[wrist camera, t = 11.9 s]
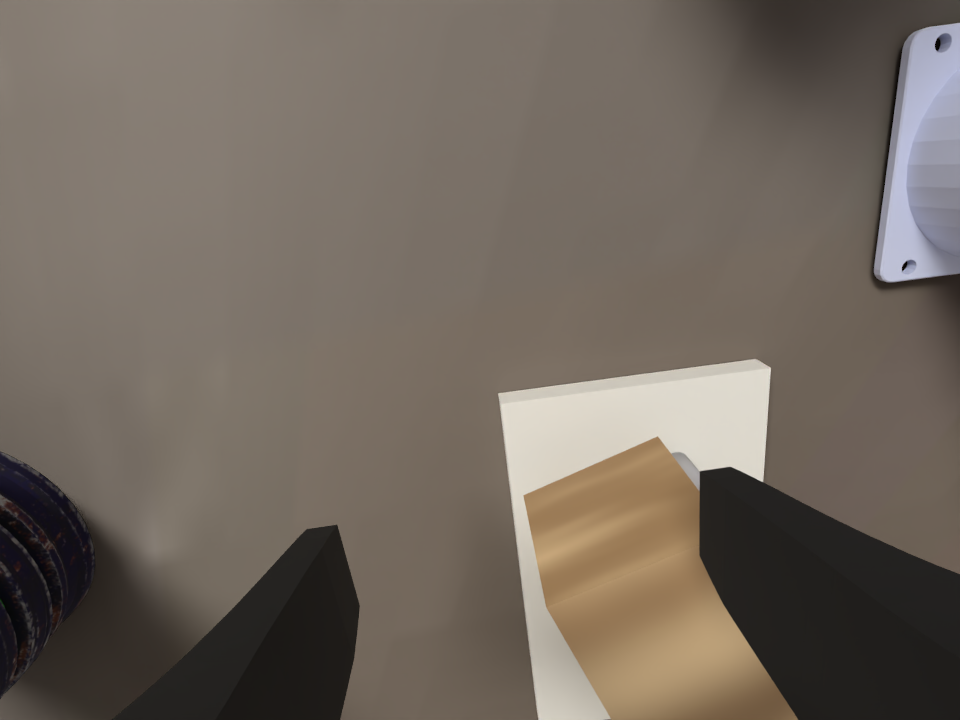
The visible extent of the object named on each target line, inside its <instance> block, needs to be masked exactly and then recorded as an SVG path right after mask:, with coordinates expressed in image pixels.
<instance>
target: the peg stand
mask: <svg viewBox="0 0 960 720" xmlns="http://www.w3.org/2000/svg"><path fill="white" fill-rule="evenodd" d="M770 373H771V368H770V367H768V366H767V365H765V364H763V363H762V362H760V361H759V360H757V359H752V360H745V361H737V362H730V363H722V364H715V365H707V366H700V367H692V368H685V369H677V370H670V371H662V372H655V373H647V374H640V375H632V376H625V377H617V378H610V379H602V380H595V381H587V382H580V383H572V384H565V385H557V386H550V387H542V388H535V389H527V390H520V391H512V392H505V393H498V396H499V404H500V412H501V420H502V429H503V437H504V445H505V453H506V461H507V470H508V478H509V486H510V494H511V502H512V511H513V519H514V527H515V535H516V543H517V552H518V560H519V568H520V576H521V584H522V593H523V601H524V609H525V617H526V625H527V634H528V642H529V650H530V658H531V666H532V675H533V683H534V691H535V699H536V707H537V714H538V720H605V719H611V718H610V716H609V715H608V713H607V711H606V709H605V708H604V706H603V704H602V703H601V701H600V699H599V697H598V696H597V694H596V692H595V691H594V689H593V687H592V685H591V684H590V682H589V680H588V678H587V677H586V675H585V673H584V672H583V670H582V668H581V666H580V665H579V663H578V661H577V660H576V658H575V656H574V654H573V653H572V651H571V649H570V648H569V646H568V644H567V642H566V641H565V639H564V637H563V635H562V634H561V632H560V630H559V629H558V627H557V625H556V623H555V622H554V620H553V618H552V617H551V615H550V613H549V611H548V610H547V608H546V604H545V599H544V594H543V589H542V584H541V580H540V575H539V570H538V565H537V560H536V555H535V550H534V545H533V540H532V536H531V531H530V526H529V521H528V516H527V511H526V506H525V501H524V496H523V495H525V494H528V493H530V492H532V491H535V490H537V489H539V488H541V487H544V486H546V485H548V484H551V483H553V482H555V481H557V480H560V479H562V478H564V477H566V476H569V475H571V474H573V473H576V472H578V471H580V470H582V469H585V468H587V467H589V466H591V465H594V464H596V463H598V462H601V461H603V460H605V459H607V458H610V457H612V456H614V455H617V454H619V453H621V452H623V451H626V450H628V449H630V448H632V447H635V446H637V445H639V444H642V443H644V442H646V441H648V440H651V439H653V438H655V437H657V436H658V437H659V438H660V440H661V441H662V442H663V444H664V445H665V446H666V448H667V449H668V450H669V452H670V453H671V454H672V456H673V457H674V458H675V460H676V461H677V462H678V464H679V465H680V466H681V468H682V469H683V470H684V471H685V473H686V474H687V475H688V477H689V478H690V479H691V481H692V482H693V483H694V485H695V486H696V487H697V489H698V490H699V491H700V471H704V470H711V469H718V468H725V467H732V468H735V469H737V470H739V471H741V472H743V473H745V474H747V475H749V476H751V477H753V478H755V479H757V480H759V481H761V482H763V476H764V461H765V446H766V432H767V417H768V402H769V387H770Z"/></svg>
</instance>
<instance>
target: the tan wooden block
mask: <svg viewBox="0 0 960 720" xmlns="http://www.w3.org/2000/svg"><path fill="white" fill-rule="evenodd" d="M523 496H524V501H525V506H526V511H527V516H528V521H529V526H530V531H531V536H532V540H533V545H534V550H535V555H536V560H537V565H538V570H539V575H540V580H541V584H542V589H543V594H544V599H545V604H546V608H547V610H548V611H549V613H550V615H551V617H552V618H553V620H554V622H555V623H556V625H557V627H558V629H559V630H560V632H561V634H562V635H563V637H564V639H565V641H566V642H567V644H568V646H569V648H570V649H571V651H572V653H573V654H574V656H575V658H576V660H577V661H578V663H579V665H580V666H581V668H582V670H583V672H584V673H585V675H586V677H587V678H588V680H589V682H590V684H591V685H592V687H593V689H594V691H595V692H596V694H597V696H598V697H599V699H600V701H601V703H602V704H603V706H604V708H605V709H606V711H607V713H608V715H609V716H610V718H611V720H798V719H797V717H796V716H795V714H794V712H793V711H792V709H791V708H790V706H789V705H788V703H787V702H786V700H785V699H784V697H783V696H782V694H781V693H780V691H779V690H778V688H777V687H776V685H775V683H774V682H773V680H772V679H771V677H770V676H769V674H768V673H767V671H766V670H765V668H764V667H763V665H762V664H761V662H760V661H759V659H758V658H757V656H756V654H755V653H754V651H753V650H752V648H751V647H750V645H749V644H748V642H747V641H746V639H745V638H744V636H743V634H742V633H741V631H740V630H739V628H738V627H737V625H736V624H735V622H734V620H733V619H732V617H731V616H730V614H729V613H728V611H727V609H726V608H725V606H724V605H723V603H722V601H721V599H720V597H719V595H718V593H717V591H716V589H715V587H714V585H713V583H712V581H711V579H710V577H709V575H708V573H707V571H706V569H705V566H704V564H703V562H702V560H701V558H700V556H699V512H700V491H699V490H698V489H697V487H696V486H695V485H694V483H693V482H692V481H691V479H690V478H689V477H688V475H687V474H686V473H685V471H684V470H683V469H682V468H681V466H680V465H679V464H678V462H677V461H676V460H675V458H674V457H673V456H672V454H671V453H670V452H669V450H668V449H667V448H666V446H665V445H664V444H663V442H662V441H661V440H660V438H659V437H658V436H657V437H655V438H653V439H651V440H648V441H646V442H644V443H642V444H639V445H637V446H635V447H632V448H630V449H628V450H626V451H623V452H621V453H619V454H617V455H614V456H612V457H610V458H607V459H605V460H603V461H601V462H598V463H596V464H594V465H591V466H589V467H587V468H585V469H582V470H580V471H578V472H576V473H573V474H571V475H569V476H566V477H564V478H562V479H560V480H557V481H555V482H553V483H551V484H548V485H546V486H544V487H541V488H539V489H537V490H535V491H532V492H530V493H528V494H525V495H523Z"/></svg>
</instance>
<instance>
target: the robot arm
mask: <svg viewBox="0 0 960 720" xmlns="http://www.w3.org/2000/svg"><path fill="white" fill-rule="evenodd" d="M937 38H939V39H940V42H941V45H940V48H939V50H938V51H937V50H936V49H935V42H936V39H937ZM906 261H907V267H906V269H905V270H903V271H902V266H903V264H904V263H905V262H906ZM952 274H960V23H955V24H948V25H940V26H932V27H927V28H924V29H921V30H918V31H915V32H913V33H912V34H911V35H910V36H909V37H908V38H907V40H906V41H905V43H904V46H903V49H902V57H901V65H900V72H899V80H898V88H897V95H896V103H895V111H894V118H893V126H892V134H891V141H890V149H889V157H888V164H887V172H886V180H885V188H884V195H883V203H882V211H881V218H880V226H879V234H878V241H877V249H876V257H875V264H874V275H875V276H876V278H877V279H879V280H881V281H885V282H899V281H907V280H915V279H922V278H930V277H937V276H945V275H952ZM699 556H700V558H701V560H702V562H703V564H704V566H705V569H706V571H707V573H708V575H709V577H710V579H711V581H712V583H713V585H714V587H715V589H716V591H717V593H718V595H719V597H720V599H721V601H722V603H723V605H724V606H725V608H726V609H727V611H728V613H729V614H730V616H731V617H732V619H733V620H734V622H735V624H736V625H737V627H738V628H739V630H740V631H741V633H742V634H743V636H744V638H745V639H746V641H747V642H748V644H749V645H750V647H751V648H752V650H753V651H754V653H755V654H756V656H757V658H758V659H759V661H760V662H761V664H762V665H763V667H764V668H765V670H766V671H767V673H768V674H769V676H770V677H771V679H772V680H773V682H774V683H775V685H776V687H777V688H778V690H779V691H780V693H781V694H782V696H783V697H784V699H785V700H786V702H787V703H788V705H789V706H790V708H791V709H792V711H793V712H794V714H795V716H796V717H797V719H798V720H960V574H958V573H955V572H952V571H950V570H947V569H945V568H942V567H940V566H937V565H934V564H932V563H930V562H927V561H925V560H923V559H920V558H918V557H915V556H913V555H911V554H908V553H906V552H904V551H902V550H899V549H897V548H895V547H893V546H891V545H888V544H886V543H884V542H882V541H880V540H877V539H875V538H873V537H871V536H868V535H866V534H864V533H862V532H860V531H858V530H856V529H854V528H852V527H850V526H847V525H845V524H843V523H841V522H839V521H837V520H835V519H833V518H831V517H829V516H827V515H825V514H823V513H821V512H819V511H817V510H815V509H813V508H811V507H809V506H807V505H806V504H804V503H802V502H800V501H798V500H796V499H794V498H792V497H790V496H788V495H786V494H784V493H782V492H781V491H779V490H777V489H775V488H773V487H771V486H769V485H767V484H765V483H763V482H761V481H759V480H757V479H755V478H753V477H751V476H749V475H747V474H745V473H743V472H741V471H739V470H737V469H735V468H732V467H725V468H718V469H711V470H704V471H700V512H699ZM359 607H360V605H359V602H358V598H357V594H356V591H355V587H354V584H353V580H352V576H351V573H350V569H349V566H348V562H347V558H346V555H345V551H344V548H343V544H342V540H341V537H340V533H339V530H338V526H337V525H333V526H326V527H319V528H312V529H307V530H306V531H305V532H304V533H303V534H302V535H301V536H300V537H299V538H298V539H297V540H296V541H295V542H294V543H293V544H292V545H291V546H290V547H289V548H288V549H287V551H286V552H285V553H284V554H283V555H282V556H281V557H280V558H279V559H278V560H277V562H276V563H275V564H274V565H273V566H272V567H271V568H270V569H269V570H268V571H267V573H266V574H265V575H264V576H263V577H262V578H261V579H260V580H259V581H258V582H257V583H256V584H255V585H254V587H253V588H252V589H251V590H250V591H249V592H248V593H247V594H246V595H245V596H244V597H243V598H242V599H241V600H240V602H239V603H238V604H237V605H236V606H235V607H234V608H233V609H232V610H231V611H230V612H229V613H228V614H227V615H226V616H225V617H224V618H223V619H222V620H221V621H220V622H219V623H218V624H217V625H216V626H215V627H214V628H213V629H212V630H211V631H210V632H209V633H208V634H207V635H206V636H205V637H204V638H203V639H202V640H201V641H200V642H199V643H198V644H197V645H196V646H195V647H194V648H193V649H192V650H191V651H190V652H189V653H188V654H187V655H186V656H184V657H183V658H182V659H181V660H180V661H179V662H178V663H177V664H176V665H175V666H174V667H173V668H171V669H170V670H169V671H168V672H167V673H166V674H165V675H164V676H163V677H162V678H160V679H159V680H158V681H157V682H156V683H155V684H154V685H152V686H151V687H150V688H149V689H148V690H147V691H145V692H144V693H143V694H142V695H141V696H140V697H138V698H137V699H136V700H135V701H134V702H133V703H131V704H130V705H129V706H128V707H127V708H126V709H124V710H123V711H122V712H121V713H120V714H118V715H117V716H116V717H115V718H114V719H112V720H340V717H341V713H342V709H343V705H344V700H345V696H346V692H347V687H348V683H349V678H350V674H351V669H352V665H353V660H354V654H355V645H356V637H357V628H358V618H359Z"/></svg>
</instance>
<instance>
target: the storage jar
mask: <svg viewBox="0 0 960 720" xmlns="http://www.w3.org/2000/svg"><path fill="white" fill-rule="evenodd" d="M94 569H95V555H94V548H93V544H92V540H91V536H90V533H89V531H88V529H87V527H86V525H85V523H84V520H83V519H82V517H81V516H80V514H79V513H78V511H77V510H76V508H75V507H74V505H73V504H72V503H71V502H70V501H69V499H68V498H67V497H66V496H65V495H64V494H63V493H62V492H61V490H60V489H58V488H57V487H56V486H55V485H54V484H53V483H51V482H50V481H49V480H48V479H47V478H46V477H44V476H43V475H42V474H40V473H39V472H37V471H36V470H34V469H33V468H31V467H30V466H28V465H27V464H25V463H23V462H21V461H19V460H17V459H15V458H13V457H11V456H9V455H7V454H5V453H2V452H0V699H1V697H2V696H3V694H4V693H6V692H7V691H8V690H9V689H10V688H11V687H12V686H13V685H14V684H15V683H16V682H17V681H18V680H19V679H20V677H21V676H22V675H23V674H24V673H25V672H26V670H27V669H28V668H29V667H30V666H31V665H32V663H33V662H34V661H35V660H36V659H37V658H38V656H39V655H40V653H41V652H42V650H43V648H44V647H45V645H46V643H47V641H48V640H49V639H50V638H51V637H52V635H53V634H54V632H55V631H56V629H57V628H58V626H59V625H60V624H61V623H62V622H63V621H64V620H65V619H66V618H67V617H68V616H69V615H70V614H71V613H72V612H73V611H74V610H75V609H76V608H77V606H78V605H79V604H80V603H81V602H82V600H83V598H84V597H85V595H86V594H87V592H88V591H89V588H90V585H91V583H92V580H93V576H94Z"/></svg>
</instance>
